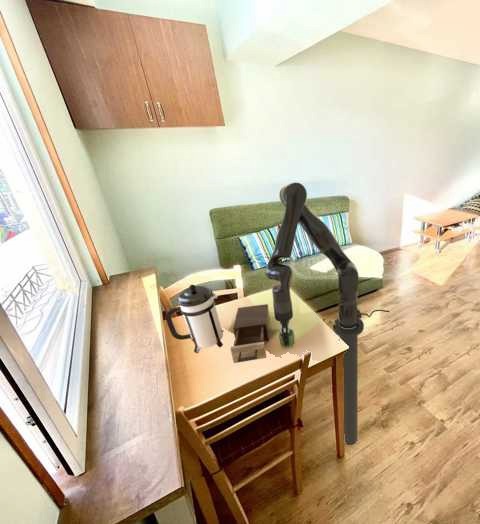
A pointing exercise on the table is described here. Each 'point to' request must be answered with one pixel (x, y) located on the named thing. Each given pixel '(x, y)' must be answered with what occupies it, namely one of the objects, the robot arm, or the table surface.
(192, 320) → the coffee press
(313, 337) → the table surface
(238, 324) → the cabinet
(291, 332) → the pot
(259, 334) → the drawer
